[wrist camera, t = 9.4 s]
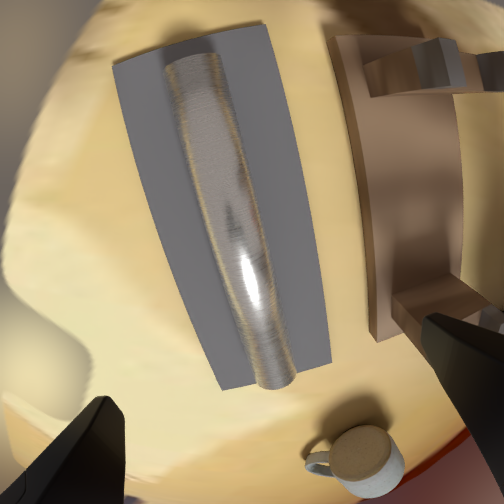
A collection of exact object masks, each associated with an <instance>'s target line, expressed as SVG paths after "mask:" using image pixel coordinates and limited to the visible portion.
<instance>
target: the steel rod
mask: <svg viewBox="0 0 504 504" xmlns="http://www.w3.org/2000/svg"><path fill="white" fill-rule="evenodd" d="M163 75H164V79H165V83H166V87H167V91H168V95H169V99H170V103H171V107H172V111H173V114H174V118H175V122H176V126H177V130H178V133H179V137H180V141H181V144H182V148H183V152H184V155H185V159H186V163H187V166H188V170H189V173H190V177H191V181H192V184H193V188H194V191H195V194H196V198H197V201H198V205H199V208H200V212H201V215H202V218H203V222H204V225H205V228H206V232H207V235H208V238H209V242H210V245H211V248H212V251H213V255H214V258H215V261H216V264H217V267H218V271H219V274H220V277H221V280H222V283H223V286H224V289H225V292H226V296H227V299H228V302H229V305H230V308H231V311H232V314H233V317H234V320H235V323H236V326H237V329H238V332H239V335H240V338H241V341H242V344H243V347H244V349H245V352H246V355H247V358H248V361H249V364H250V367H251V370H252V372H253V375H254V378H255V381H256V383H257V384H258V385H259V386H260V387H262V388H264V389H268V390H276V389H280V388H283V387H285V386H287V385H289V384H290V383H291V382H292V381H293V380H294V379H295V377H296V373H297V370H296V365H295V361H294V356H293V351H292V347H291V342H290V338H289V333H288V329H287V324H286V320H285V315H284V311H283V306H282V302H281V298H280V293H279V289H278V284H277V280H276V276H275V271H274V267H273V263H272V258H271V254H270V250H269V246H268V241H267V237H266V233H265V229H264V225H263V220H262V216H261V212H260V208H259V204H258V200H257V195H256V191H255V187H254V183H253V179H252V175H251V171H250V167H249V163H248V159H247V155H246V151H245V147H244V143H243V139H242V135H241V131H240V127H239V123H238V119H237V115H236V111H235V107H234V103H233V100H232V96H231V92H230V88H229V84H228V80H227V77H226V73H225V69H224V65H223V61H222V58H221V55H220V54H217V53H202V54H196V55H192V56H188V57H185V58H182V59H179V60H177V61H174V62H172V63H171V64H169V65H167V66H166V67H165V68H164V69H163Z"/></svg>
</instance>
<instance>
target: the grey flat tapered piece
mask: <svg viewBox="0 0 504 504" xmlns="http://www.w3.org/2000/svg"><path fill="white" fill-rule="evenodd" d="M202 53H217V54H220V55H221V58H222V61H223V65H224V69H225V73H226V77H227V80H228V84H229V88H230V92H231V96H232V100H233V103H234V107H235V111H236V115H237V119H238V123H239V127H240V131H241V135H242V139H243V143H244V147H245V151H246V155H247V159H248V163H249V167H250V171H251V175H252V179H253V183H254V187H255V191H256V195H257V200H258V204H259V208H260V212H261V216H262V220H263V225H264V229H265V233H266V237H267V241H268V246H269V250H270V254H271V258H272V263H273V267H274V271H275V276H276V280H277V284H278V289H279V293H280V298H281V302H282V306H283V311H284V315H285V320H286V324H287V329H288V333H289V338H290V342H291V347H292V351H293V356H294V361H295V365H296V370H297V373H299V372H302V371H306V370H309V369H313V368H316V367H320V366H323V365H326V364H329V363H332V358H331V348H330V339H329V331H328V323H327V315H326V307H325V300H324V292H323V285H322V278H321V272H320V265H319V259H318V253H317V246H316V240H315V234H314V229H313V223H312V217H311V212H310V207H309V201H308V196H307V191H306V186H305V181H304V176H303V171H302V166H301V161H300V157H299V152H298V147H297V143H296V138H295V134H294V130H293V125H292V121H291V117H290V113H289V108H288V104H287V100H286V96H285V92H284V88H283V84H282V81H281V77H280V73H279V69H278V66H277V62H276V58H275V55H274V51H273V48H272V44H271V41H270V37H269V34H268V30H267V27H266V24H263V25H257V26H250V27H244V28H239V29H233V30H228V31H223V32H219V33H214V34H210V35H206V36H201V37H198V38H194V39H190V40H186V41H183V42H179V43H176V44H172V45H169V46H166V47H163V48H159V49H156V50H153V51H150V52H148V53H145V54H142V55H139V56H136V57H134V58H131V59H128V60H126V61H123V62H121V63H118V64H116V65H113V66H112V69H113V74H114V79H115V83H116V88H117V92H118V97H119V101H120V105H121V109H122V113H123V117H124V121H125V125H126V129H127V133H128V137H129V140H130V144H131V148H132V151H133V155H134V159H135V162H136V165H137V169H138V172H139V176H140V179H141V182H142V186H143V189H144V192H145V195H146V198H147V202H148V205H149V208H150V211H151V214H152V217H153V220H154V223H155V226H156V229H157V232H158V235H159V238H160V241H161V243H162V246H163V249H164V252H165V255H166V257H167V260H168V263H169V266H170V268H171V271H172V274H173V276H174V279H175V282H176V284H177V287H178V289H179V292H180V295H181V297H182V300H183V302H184V305H185V307H186V310H187V312H188V315H189V317H190V319H191V322H192V324H193V327H194V329H195V331H196V334H197V336H198V339H199V341H200V343H201V345H202V348H203V350H204V352H205V355H206V357H207V359H208V361H209V364H210V366H211V368H212V370H213V372H214V375H215V377H216V379H217V381H218V383H219V385H220V387H221V390H222V391H223V390H228V389H233V388H238V387H242V386H247V385H251V384H256V381H255V378H254V375H253V372H252V370H251V367H250V364H249V361H248V358H247V355H246V352H245V349H244V347H243V344H242V341H241V338H240V335H239V332H238V329H237V326H236V323H235V320H234V317H233V314H232V311H231V308H230V305H229V302H228V299H227V296H226V292H225V289H224V286H223V283H222V280H221V277H220V274H219V271H218V267H217V264H216V261H215V258H214V255H213V251H212V248H211V245H210V242H209V238H208V235H207V232H206V228H205V225H204V222H203V218H202V215H201V212H200V208H199V205H198V201H197V198H196V194H195V191H194V188H193V184H192V181H191V177H190V173H189V170H188V166H187V163H186V159H185V155H184V152H183V148H182V144H181V141H180V137H179V133H178V130H177V126H176V122H175V118H174V114H173V111H172V107H171V103H170V99H169V95H168V91H167V87H166V83H165V79H164V75H163V69H164V68H165V67H166V66H167V65H169V64H171V63H172V62H174V61H177V60H179V59H182V58H185V57H188V56H192V55H196V54H202Z"/></svg>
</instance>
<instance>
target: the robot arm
mask: <svg viewBox="0 0 504 504" xmlns="http://www.w3.org/2000/svg"><path fill="white" fill-rule="evenodd" d="M502 313H503V314H504V311H503V312H502ZM420 342H421V345H422V348H423V349H424V351H425V353H426V355H427V357H428V359H429V361H430V363H431V365H432V367H433V369H434V371H435V373H436V375H437V377H438V379H439V381H440V383H441V385H442V387H443V388H444V390H445V392H446V393H447V395H448V397H449V398H450V400H451V401H452V403H453V405H454V406H455V408H456V410H457V411H458V413H459V415H460V416H461V418H462V420H463V421H464V423H465V425H466V426H467V428H468V430H469V431H470V433H471V435H472V437H473V438H474V440H475V442H476V444H477V446H478V447H479V449H480V451H481V453H482V455H483V457H484V458H485V460H486V462H487V464H488V466H489V468H490V470H491V472H492V474H493V475H494V478H495V480H496V482H497V483H498V486H499V487H500V490H501V492H502V494H503V497H504V334H501V333H498V332H495V331H492V330H489V329H486V328H483V327H480V326H477V325H474V324H471V323H468V322H465V321H463V320H460V319H457V318H454V317H451V316H448V315H445V314H442V313H439V312H433V313H431V314H428V315H426V316H424V318H423V320H422V328H421V336H420ZM125 463H126V461H125V418H124V415H123V413H122V411H121V410H120V409H119V408H118V406H117V405H116V404H115V402H114V401H113V400H112V398H111V397H109V396H97V397H95V398H94V399H93V400H92V401H91V402H90V403H89V404H88V405H87V406H86V407H85V408H84V409H83V411H82V412H81V413H80V414H79V415H78V416H77V417H76V418H75V419H74V420H73V421H72V422H71V423H70V424H69V425H68V426H67V427H66V428H65V429H64V430H63V431H62V432H61V433H60V434H59V435H58V436H57V437H56V438H55V440H54V441H53V442H52V443H51V444H50V445H49V446H48V447H47V448H46V449H45V450H44V451H43V452H42V453H41V454H40V455H39V456H38V457H37V458H36V459H35V460H34V461H33V462H32V464H31V465H30V466H29V467H28V468H27V469H26V471H24V472H23V473H22V474H21V475H20V476H19V477H18V478H17V479H16V480H15V481H14V482H13V483H12V484H11V485H10V486H9V487H8V488H7V489H6V490H5V491H4V492H3V493H2V494H1V495H0V504H124V482H125Z"/></svg>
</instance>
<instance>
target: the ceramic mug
mask: <svg viewBox="0 0 504 504" xmlns="http://www.w3.org/2000/svg"><path fill="white" fill-rule="evenodd" d="M316 463H329V465H330V466H325V465H320V464H316ZM404 467H405V463H404V459H403V456H402V454H401V453H400V451H399V449H398V447H397V446H396V444H395V442H394V440H393V438H392V437H391V436H390V435H389V434H388V433H387V432H386V431H384V430H383V429H381V428H379V427H377V426H373V425H363V426H357V427H354V428H352V429H350V430H348V431H346V432H345V433H343V434H342V435H341V436H340V437H339V438H338V439H337V440H336V441H335V442H334V444H333V446H332V447H331V450H330V451H320V452H315V453H311V454H309V455H308V456H307V459H306V463H305V469H306V470H307V471H309V472H311V473H313V474H316V475H320V476H325V477H335V478H336V479H337V480H338V481H339V482H341V483H342V484H343V485H344V487H345V488H346V489H347V490H348V491H349V492H351V493H352V494H354V495H356V496H358V497H362V498H375V497H379V496H382V495H384V494H386V493H388V492H389V491H391V490H392V489H393V488H394V487H395V486H396V485H397V484H398V483H399V482H400V480H401V478H402V476H403V473H404Z"/></svg>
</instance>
